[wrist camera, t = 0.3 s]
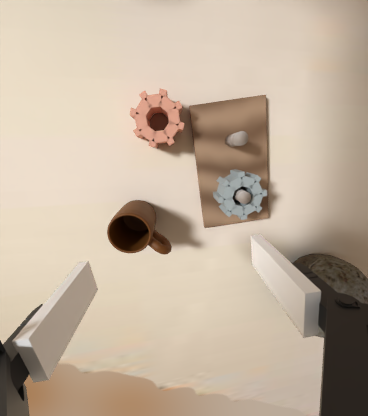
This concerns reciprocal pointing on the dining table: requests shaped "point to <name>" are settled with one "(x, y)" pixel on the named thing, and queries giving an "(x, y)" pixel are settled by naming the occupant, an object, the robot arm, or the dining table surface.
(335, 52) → the dining table surface
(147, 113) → the gear
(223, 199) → the gear
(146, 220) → the mug
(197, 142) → the gear board
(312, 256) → the vase
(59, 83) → the dining table surface
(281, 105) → the dining table surface
